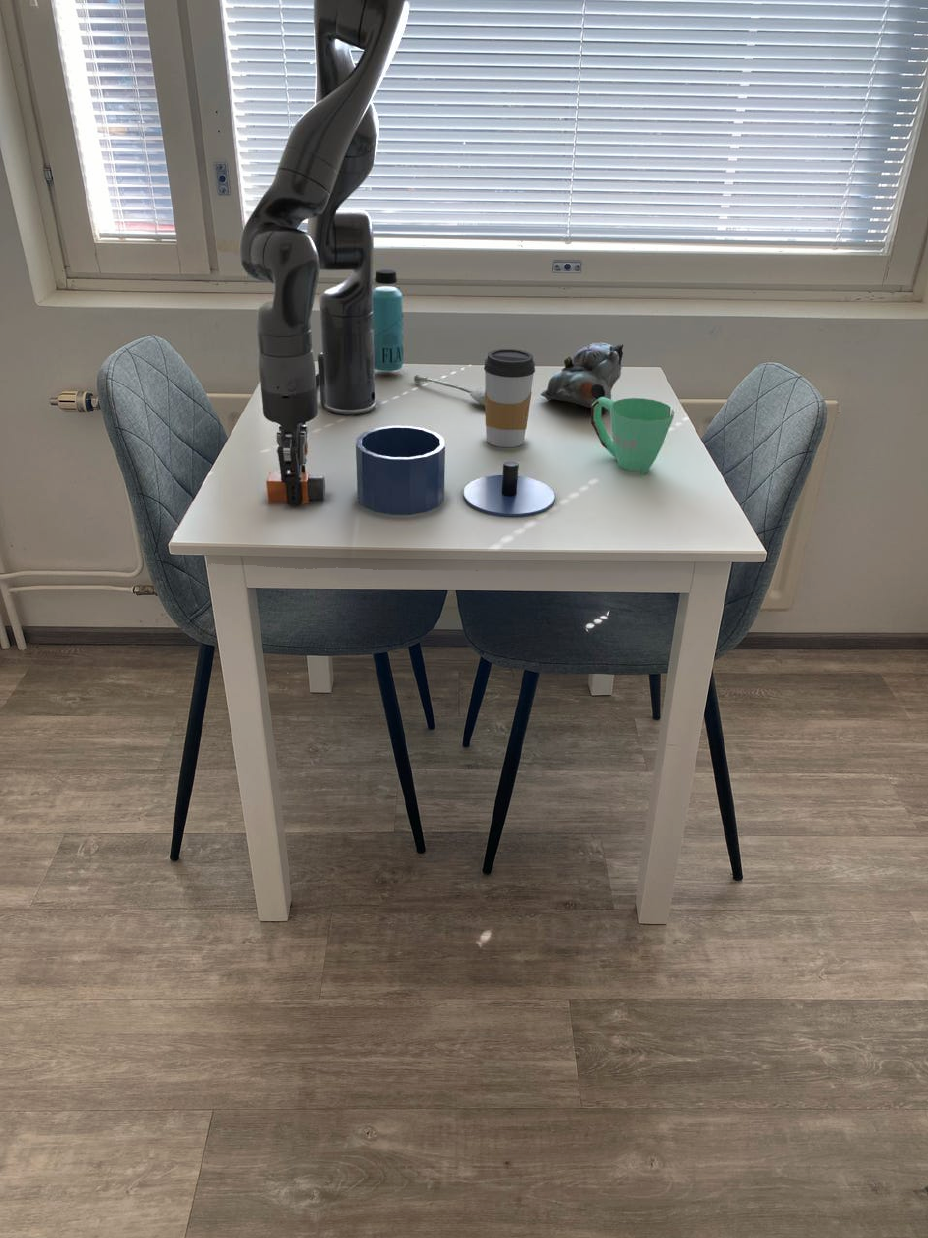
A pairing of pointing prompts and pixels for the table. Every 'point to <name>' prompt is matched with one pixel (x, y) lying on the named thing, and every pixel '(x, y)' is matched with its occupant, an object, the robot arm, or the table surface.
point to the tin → (400, 470)
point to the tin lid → (509, 493)
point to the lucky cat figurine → (587, 375)
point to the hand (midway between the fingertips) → (297, 495)
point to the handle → (310, 487)
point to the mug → (633, 430)
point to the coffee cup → (507, 395)
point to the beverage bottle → (387, 323)
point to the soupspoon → (475, 394)
